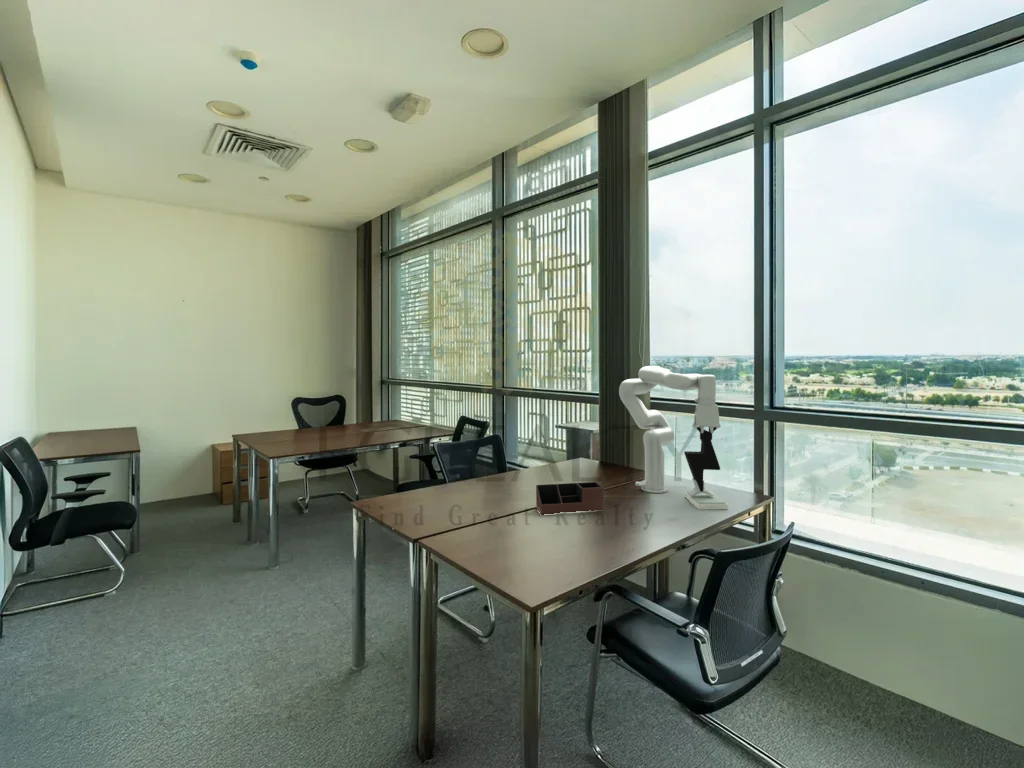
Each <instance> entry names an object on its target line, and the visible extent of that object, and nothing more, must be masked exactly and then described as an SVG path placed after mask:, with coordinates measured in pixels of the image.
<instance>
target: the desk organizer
mask: <svg viewBox="0 0 1024 768" xmlns="http://www.w3.org/2000/svg"><path fill="white" fill-rule="evenodd" d="M535 499H536V501H535V502H536V504H535V506H536V507H535V508H537V510H538V511H539V512H540V514H541V515H544V514H554V513H560V512H576V511H589V510H591V511H594V510H604V487H603V485H601V484H600V483H598V481H587V482H570V483H569V482H568V483H549V484H546V483H545V484H536V485H535Z"/></svg>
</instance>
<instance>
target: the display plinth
mask: <svg viewBox="0 0 1024 768" xmlns="http://www.w3.org/2000/svg"><path fill="white" fill-rule="evenodd" d="M689 491H690V490H688V491H685V492H684V498H685V497H686V498H687V499H688V500H689V501H688V500H687V499H686V500H687V501H688V502H689V503H690V504H691V505H693V504H694V505H695V506H696V507H697V508H698V509H697V508H696V507H695V506H694V505H693V506H694V507H695V508H696V509H697V510H708V509H717V510H718V509H729V507H728V505H729V504H728V503H727V502H726V501H725V500H723V499H722V498H721V497H720V496H718V495H717V494H716V493H715V492H713V491H710V490H707V491H708V492H710V493H712V494H713V495H714V496H712V495H708V494H704V493H700V494H697V495H693V496H691V495H690V494H689V493H688V492H689ZM718 511H719V510H718Z"/></svg>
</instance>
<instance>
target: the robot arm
mask: <svg viewBox="0 0 1024 768" xmlns="http://www.w3.org/2000/svg"><path fill="white" fill-rule="evenodd" d="M716 383H717V377H716V376H715V375H714V374H700V373H677V372H672V370H671V369H669V368H665V367H664V368H663V367H661V366H659V365H647V366H643V367H641V368H640V369H639V370H638V377H637V378H628V379H625V380H623V381H621V383H620V385H619V388H618V394H619V398H620V401H621V402H622V403H623V405H624V406H625V408H626V409H627V410H628V413H629V414H630V416H631V418H633V421H634V422H635V424H636V426H637V427H638V428H639V429H642V430H646V431H645V432H644V434H643V436H642V441H643V448H644V479H643V480H641V481H635V486H638V487H641V490H642V491H644V492H646V493H652V494H663V493H666V492H668V487H666V486H665V453H664V450H663V447H664V446H668V445H672V443H674V441H675V433H674V430H673V429H672V427H671V425H670V424H669V422H668V421H667V419H666V417H665V416H664V415H663V414H662V413H661V412H660V411H659V410H658V409H657V410H656V409H648V408H647V407H646V406H645V404H644V402H643V401H642V400H641V399H640V398H639V397H637V395H645V394H647V393H649V392H650V391H652V390H653V389H654V388H655V387H656V386H657V385H659V386H664V387H666V388H668V389H673V390H678V391H679V390H680V391H693V390H697V398H695V399H694V402H695V403H697V404H695V410H694V416H693V417H694V418H693V424H692V425H691V428H694V429H695V430H697V431H698V432H699V440H700V442H701V441H702V442H704V437H705V433H704V430H705V427H708V430H707V431H708V433H709V436H710V439H711V441H712V440H713V433H714V432H715V431H716V430H717V429H720V428H721V424H720V413H719V405H718V404H716V390H717V386H716V385H717V384H716ZM702 442H701V443H702Z"/></svg>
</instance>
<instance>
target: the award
mask: <svg viewBox="0 0 1024 768" xmlns="http://www.w3.org/2000/svg"><path fill="white" fill-rule="evenodd" d="M708 431H709V430H706V429H704V433H705V437H704V442H702V441H701V440H700V442H701V443H700V451H691V450H690V451H687V450H685V451H684V452H683V455H684V456H685V459H686V462H687V465H688V467H689V470H690V472H691V475H692V477H691V478H692V482H693V485H694V488H692V489H690V490H688V491H689V492H688V493H689V494H690V495H691V496H693V495H697V494H700V493H704V494H708V495H712V496H714V495H713V494H712V493H710V492H708V491H709V490H706V489H705V480H704V471H705V470H707V471H721V466H720V463H719V460H718V458H717V454H716V451H715V449H714V446H713V442H712V440H711V439H710V436H709V433H708Z"/></svg>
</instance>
